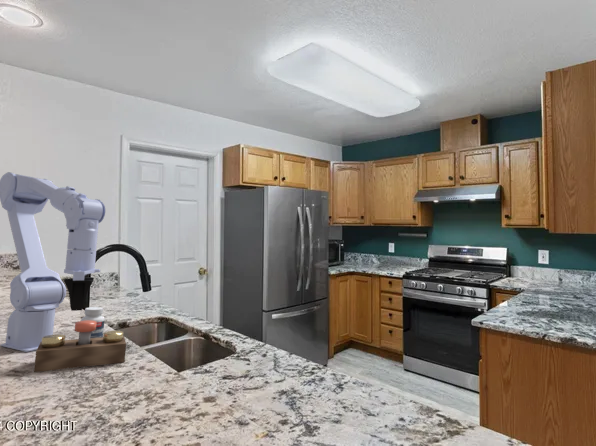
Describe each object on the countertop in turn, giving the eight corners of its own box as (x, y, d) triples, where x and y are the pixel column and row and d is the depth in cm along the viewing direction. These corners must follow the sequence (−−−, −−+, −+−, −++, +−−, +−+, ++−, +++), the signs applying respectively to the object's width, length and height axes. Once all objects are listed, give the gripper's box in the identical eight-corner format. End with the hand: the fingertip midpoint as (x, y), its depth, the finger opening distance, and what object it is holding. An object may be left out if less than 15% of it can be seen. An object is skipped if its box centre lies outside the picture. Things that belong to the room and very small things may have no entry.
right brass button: (101, 361, 74) (103, 335, 75) (100, 355, 78) (103, 331, 78) (121, 358, 76) (124, 334, 77) (120, 353, 80) (122, 330, 80)
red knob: (72, 351, 72) (74, 325, 72) (73, 345, 75) (75, 321, 75) (94, 349, 74) (96, 323, 74) (94, 344, 77) (96, 319, 78)
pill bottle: (91, 347, 84) (94, 311, 85) (73, 345, 85) (76, 309, 86) (107, 342, 89) (110, 307, 90) (90, 339, 90) (93, 305, 91)
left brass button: (37, 367, 69) (40, 340, 69) (40, 361, 72) (43, 335, 72) (61, 365, 71) (64, 338, 71) (63, 359, 74) (66, 333, 75)
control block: (33, 372, 67) (36, 351, 67) (38, 361, 73) (40, 342, 73) (124, 362, 75) (126, 343, 76) (122, 352, 81) (123, 335, 82)
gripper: (102, 251, 74) (97, 314, 73) (101, 250, 87) (96, 304, 86) (63, 250, 71) (57, 316, 70) (67, 249, 83) (62, 305, 82)
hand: (76, 310), depth 77 cm, fingers closed
